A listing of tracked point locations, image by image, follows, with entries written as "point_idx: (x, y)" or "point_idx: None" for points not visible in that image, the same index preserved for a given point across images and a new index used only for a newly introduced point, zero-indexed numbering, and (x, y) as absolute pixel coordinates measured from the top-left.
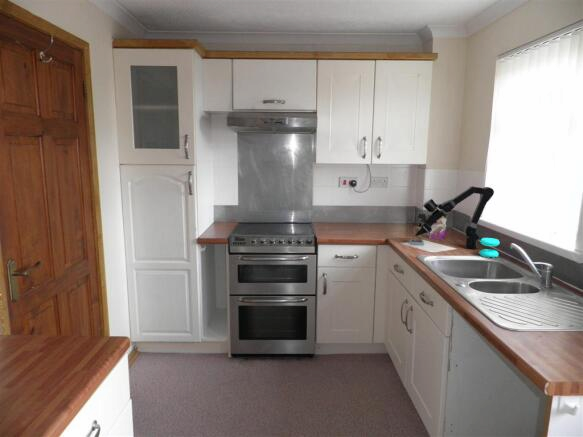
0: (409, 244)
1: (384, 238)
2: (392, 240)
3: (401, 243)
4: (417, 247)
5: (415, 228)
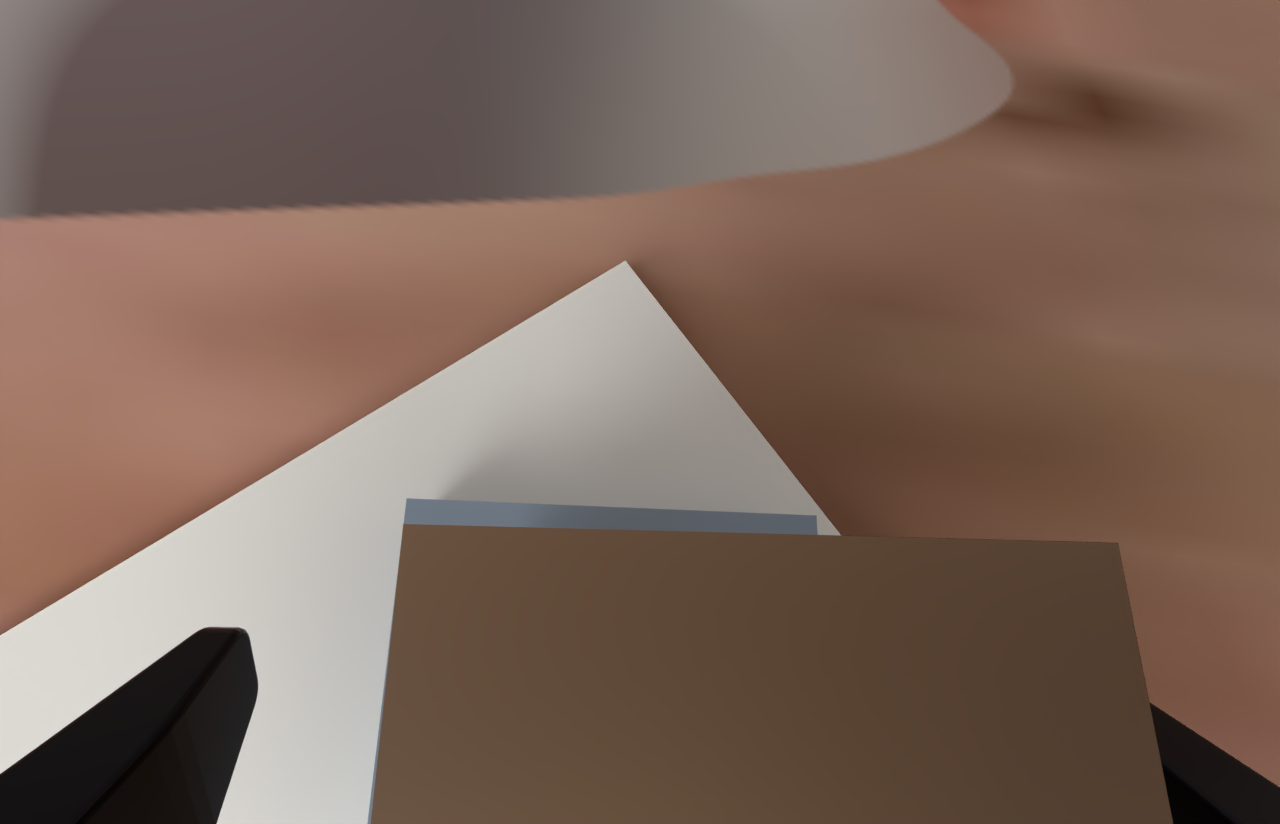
0: (510, 481)
1: (1169, 79)
2: (1040, 194)
3: (608, 289)
4: (83, 678)
5: (399, 648)
